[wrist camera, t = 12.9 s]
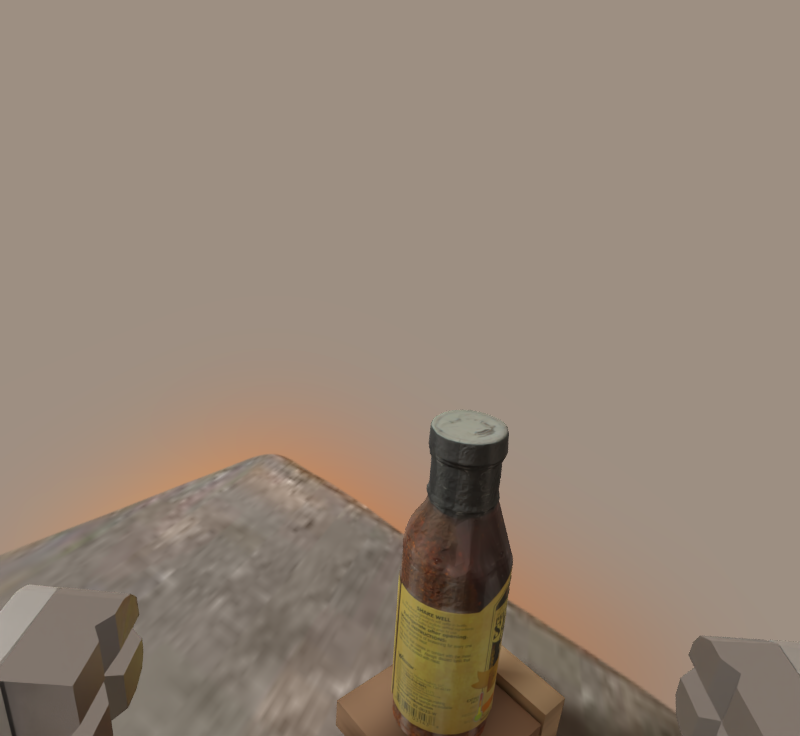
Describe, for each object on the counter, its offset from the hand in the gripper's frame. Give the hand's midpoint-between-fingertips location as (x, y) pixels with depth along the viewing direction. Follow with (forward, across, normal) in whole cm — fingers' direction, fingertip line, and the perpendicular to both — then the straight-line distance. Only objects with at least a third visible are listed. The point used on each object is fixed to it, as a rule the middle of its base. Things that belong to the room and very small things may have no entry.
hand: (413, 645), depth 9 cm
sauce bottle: (+21, -4, +28) cm, 35 cm away
